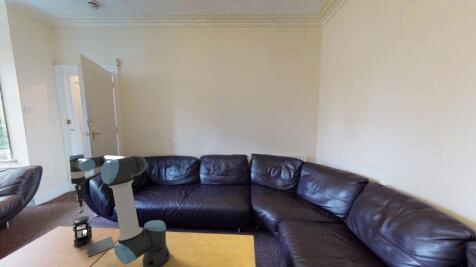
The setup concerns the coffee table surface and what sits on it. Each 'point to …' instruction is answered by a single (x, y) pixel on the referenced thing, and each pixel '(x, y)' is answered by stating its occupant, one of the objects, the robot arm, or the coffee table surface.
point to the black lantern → (83, 234)
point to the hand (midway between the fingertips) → (80, 207)
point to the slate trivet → (99, 246)
